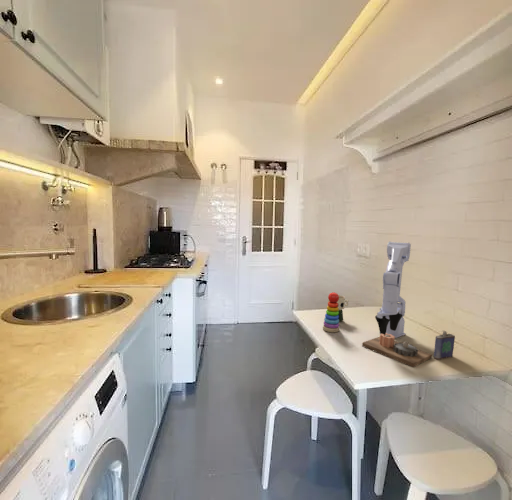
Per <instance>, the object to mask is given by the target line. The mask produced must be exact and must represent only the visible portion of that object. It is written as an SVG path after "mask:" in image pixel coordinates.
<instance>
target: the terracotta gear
mask: <svg viewBox="0 0 512 500" xmlns="http://www.w3.org/2000/svg"><path fill="white" fill-rule="evenodd" d="M385 335H389V336H390V337H386V336H385ZM379 337H380V342H379V344H381V345H382V346H385V347H394V341H396V340H395V339H396V338H395V336H393V335H392V334H387V333H386V334H381V333H380V334H379Z"/></svg>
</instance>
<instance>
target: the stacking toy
mask: <svg viewBox="0 0 512 500" xmlns="http://www.w3.org/2000/svg"><path fill="white" fill-rule="evenodd" d="M338 295H339V294H338V293H337V292H330V293H329V294H328V296H327V298H328V299H327V300H329V301H330V302H328V301H327V306H326V309H327V310H325V311H326V312H325V315H324V316H325V317H324V319H323V326H322V329H323V331H326V332H327V333H338V332H339V331H340V321H339V319H338V318H339V316H338V314H339V312H338V310H339V308H338V303H337V301H338V300H339V296H338Z"/></svg>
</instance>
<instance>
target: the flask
mask: <svg viewBox="0 0 512 500" xmlns="http://www.w3.org/2000/svg"><path fill="white" fill-rule="evenodd" d="M455 339H456V336H455V335H454V334H452V333H448V332H447V331H446V330H443V331H442V334H439V335H436V336H435V339H434V341H435V342H434V350H433V358H434V359H435V360H444V359H451V358H453V357H454V355H453V354H454V349H455V348H454V347H455V341H456V340H455Z"/></svg>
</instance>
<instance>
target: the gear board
mask: <svg viewBox="0 0 512 500" xmlns="http://www.w3.org/2000/svg"><path fill="white" fill-rule="evenodd" d="M385 336H386V337H390V336H389V335H385ZM379 342H380V336H377V337H375V338H371V339H369V340H366V341H363V342H362V343H361V346H362V347H364V348H366V347H367V349H368V348H369V350H371V351H373V350H374V351H373V352H375V353H378V354H380V355H383V356H385V357H388V358H390V359H392V360H394V361H397V362H400V363H402V364H404V365H408V366H409V367H412V368H414V367H417V366H418V365H421V364H423V363H425V362H426V361H428V360H431V359H432V358H433V354H432V353H428V352H426V351H424V350H421V349H419V348H417V347H416V346H414V345H413V344H409V342H408V341H403V343H402V342H399V341H397V340H394V347H385V346H382V345H381V344H379Z"/></svg>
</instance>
